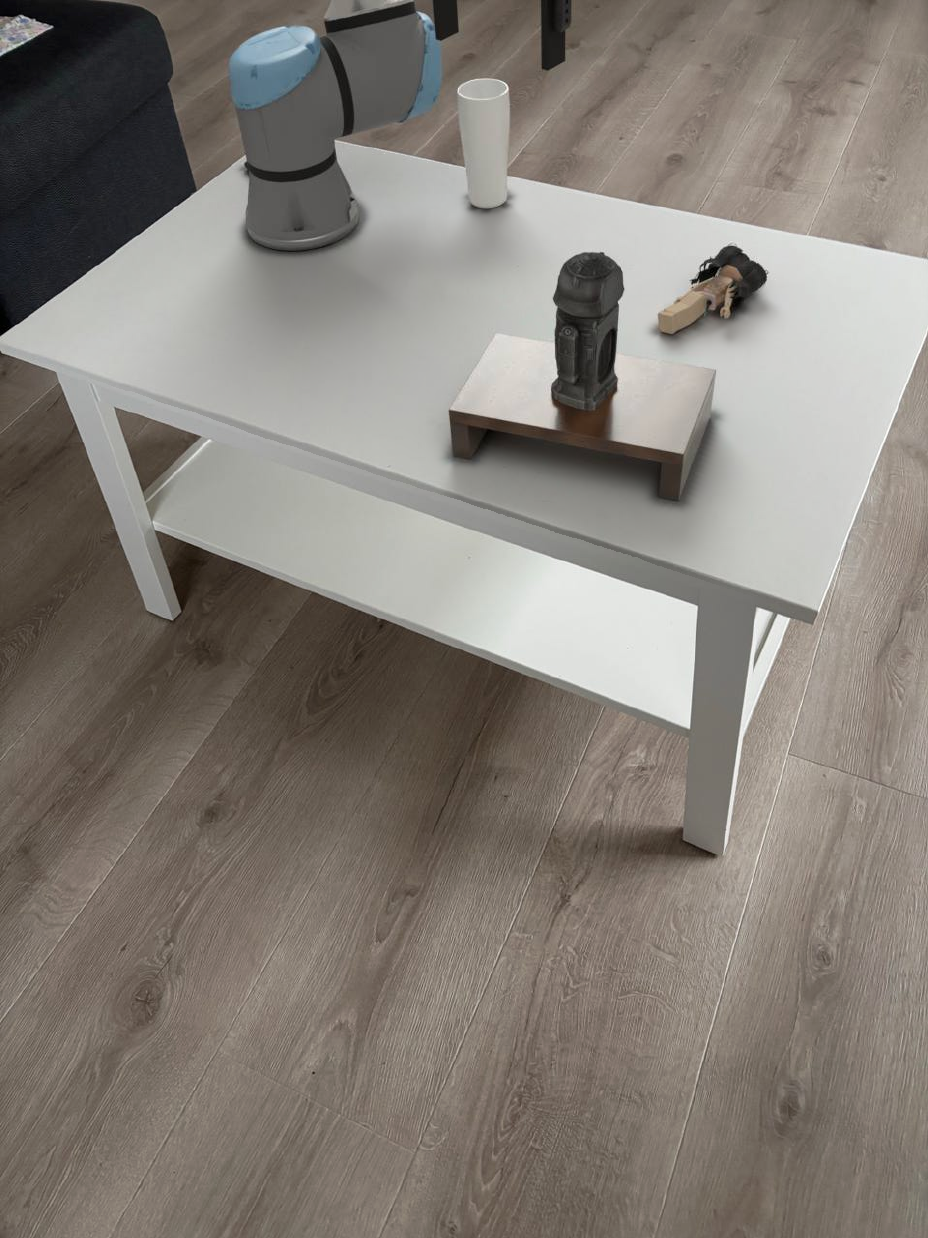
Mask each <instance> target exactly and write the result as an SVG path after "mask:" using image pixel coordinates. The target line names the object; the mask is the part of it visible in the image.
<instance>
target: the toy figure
mask: <svg viewBox="0 0 928 1238" xmlns="http://www.w3.org/2000/svg"><path fill="white" fill-rule="evenodd" d="M717 253H718V254H716V255H715V256H714V257H713V256H709V258H708V259H705V260H704V261H703V263H701V264H700V265H699V267H698V268H699V269H698V270H699V271H698V272H697V274H696V275H695V277H694V278H691V279H690V280H689V282H690V284H691V288H690V290H689V291H687V292H686V293H685V294H684V295H683V296H678V297H676V298H675V300H674V301H673V304H671V305H669V306H667V307H665V308H664V309H663V310H660V311H659V312H658V313H657V320H658V321H657V322H658V331H659V332H661V333H665V334H669V335H674V333H676V332H677V331H680V330H682V329H685V328H686V327H688V326H691V325H692V324H693V323H694V322H696V321H697V320H698V319H699V318H700V317H701V316H702V315H703V316H704V317H705V316H706V315H707V313H708V312H709V310H710V311H715V310H716V308H717V306H718V305H720V304H721V303H723V302H724V306H722V307H720V308H719V310H718V311H717V313H718V314H719V315H720V317H721V318H722V317H724V320H727V319H729V318H730V316H731V314H732V313H733V312H734V311H738V310H739V308H740V307H742V306H743V303H744V301H745V299H746V298H748V297H749V296H751V295H752V294H754V293H755V294H757V293H758V292H760V291H761V290H762V289H763V288H764V286H765V284H766V283H767V281H768V276H767V275H768V274H770V273H769V271H768V270H766V269H765V268H764V267H763V266H762V265H761V264H760V263H759V262H756V261H754V260H751V258H750V256H749V255H748V254H746V253H744V250H743V249H742V248H741V247H739V246H737V244H736V243H734V244H733V242H731V243H729V244H728V245H726V246H724V247H722V248H721V249H720V250H719V252H717ZM707 265H708V266H707ZM702 267H703V269H702ZM759 289H760V290H759Z"/></svg>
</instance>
